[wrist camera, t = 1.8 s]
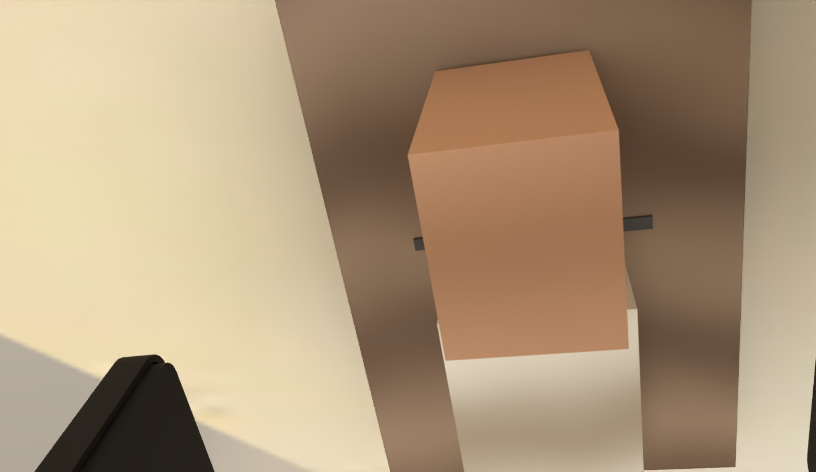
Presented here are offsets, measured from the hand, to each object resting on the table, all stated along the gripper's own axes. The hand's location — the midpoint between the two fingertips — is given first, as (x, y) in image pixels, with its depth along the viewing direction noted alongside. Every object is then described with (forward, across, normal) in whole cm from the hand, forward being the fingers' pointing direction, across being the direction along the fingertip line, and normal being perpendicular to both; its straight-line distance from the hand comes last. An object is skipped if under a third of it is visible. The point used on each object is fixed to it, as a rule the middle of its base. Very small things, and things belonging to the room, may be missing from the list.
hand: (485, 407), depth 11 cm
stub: (+11, -1, 0) cm, 11 cm away
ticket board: (+13, -1, +1) cm, 13 cm away
